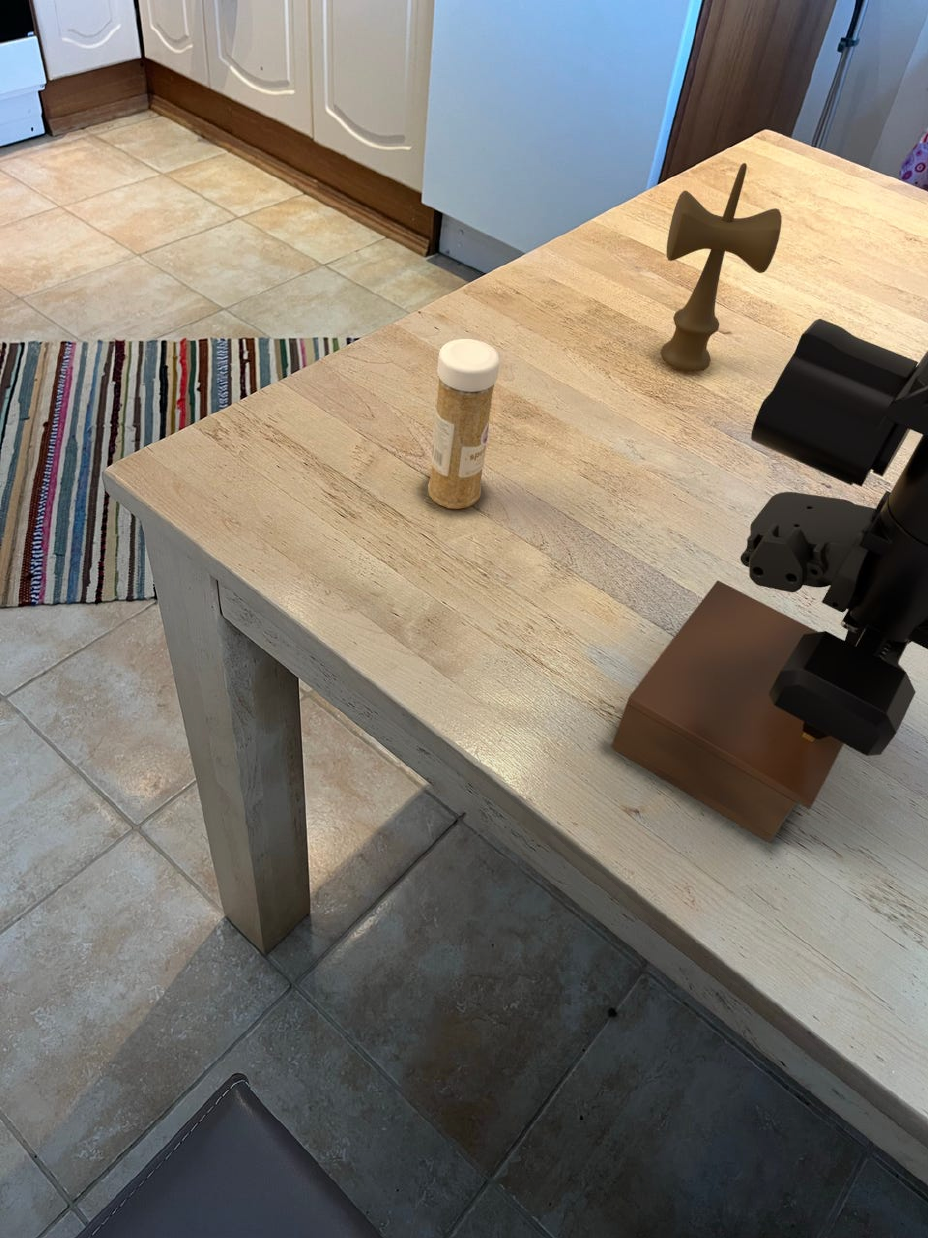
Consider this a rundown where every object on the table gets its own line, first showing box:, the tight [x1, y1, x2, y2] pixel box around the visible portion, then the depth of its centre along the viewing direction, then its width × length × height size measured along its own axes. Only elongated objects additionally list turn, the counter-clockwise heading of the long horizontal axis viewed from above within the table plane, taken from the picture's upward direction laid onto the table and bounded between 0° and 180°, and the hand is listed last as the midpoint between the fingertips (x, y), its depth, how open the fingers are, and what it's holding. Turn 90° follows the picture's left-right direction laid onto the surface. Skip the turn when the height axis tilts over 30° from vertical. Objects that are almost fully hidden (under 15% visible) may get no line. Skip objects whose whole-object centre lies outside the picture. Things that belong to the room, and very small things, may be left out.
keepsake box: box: [610, 703, 797, 843], centre depth 64 cm, size 12×14×5 cm
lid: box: [626, 580, 845, 810], centre depth 60 cm, size 12×14×4 cm
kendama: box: [660, 162, 783, 373], centre depth 90 cm, size 6×10×20 cm, turn 81°
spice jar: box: [427, 338, 500, 510], centre depth 75 cm, size 5×5×13 cm
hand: (827, 704), depth 59 cm, fingers closed on lid, 5 cm apart
